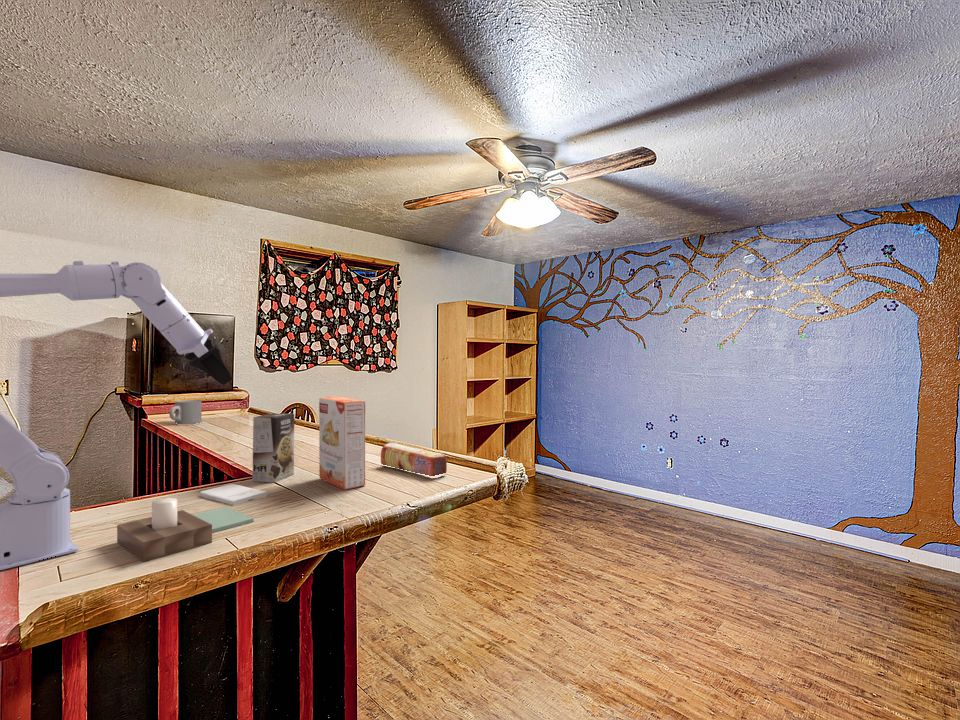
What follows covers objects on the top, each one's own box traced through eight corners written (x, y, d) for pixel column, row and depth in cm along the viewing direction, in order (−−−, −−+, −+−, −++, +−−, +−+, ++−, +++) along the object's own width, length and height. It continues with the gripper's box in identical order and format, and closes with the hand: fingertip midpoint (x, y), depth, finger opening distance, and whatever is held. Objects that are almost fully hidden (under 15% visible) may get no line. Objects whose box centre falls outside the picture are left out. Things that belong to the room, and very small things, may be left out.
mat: (203, 535, 86) (203, 531, 86) (177, 521, 92) (177, 518, 92) (253, 521, 93) (253, 518, 93) (226, 509, 100) (226, 506, 100)
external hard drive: (233, 490, 116) (267, 498, 110) (199, 498, 109) (233, 508, 102) (233, 483, 116) (267, 490, 110) (199, 491, 109) (233, 500, 102)
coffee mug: (193, 421, 222) (193, 399, 222) (206, 423, 217) (206, 400, 217) (162, 425, 211) (162, 401, 211) (174, 427, 206) (174, 403, 205)
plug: (156, 548, 80) (156, 505, 80) (148, 543, 82) (148, 501, 82) (180, 542, 83) (180, 500, 82) (172, 537, 85) (172, 496, 85)
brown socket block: (143, 561, 75) (143, 542, 75) (117, 542, 82) (117, 524, 82) (211, 542, 83) (212, 524, 82) (182, 526, 90) (182, 510, 90)
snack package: (449, 476, 129) (449, 451, 129) (430, 481, 124) (431, 454, 124) (397, 464, 143) (397, 440, 143) (378, 467, 138) (378, 444, 138)
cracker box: (317, 479, 124) (318, 396, 124) (339, 475, 128) (340, 395, 128) (342, 491, 114) (343, 401, 113) (366, 486, 118) (366, 399, 117)
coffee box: (275, 483, 120) (275, 417, 120) (251, 481, 121) (251, 416, 121) (295, 474, 129) (295, 413, 129) (272, 472, 130) (273, 412, 130)
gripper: (199, 312, 86) (249, 371, 92) (189, 307, 97) (235, 360, 103) (161, 336, 83) (216, 395, 89) (156, 328, 94) (205, 381, 101)
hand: (224, 378), depth 96 cm, fingers open, 7 cm apart
